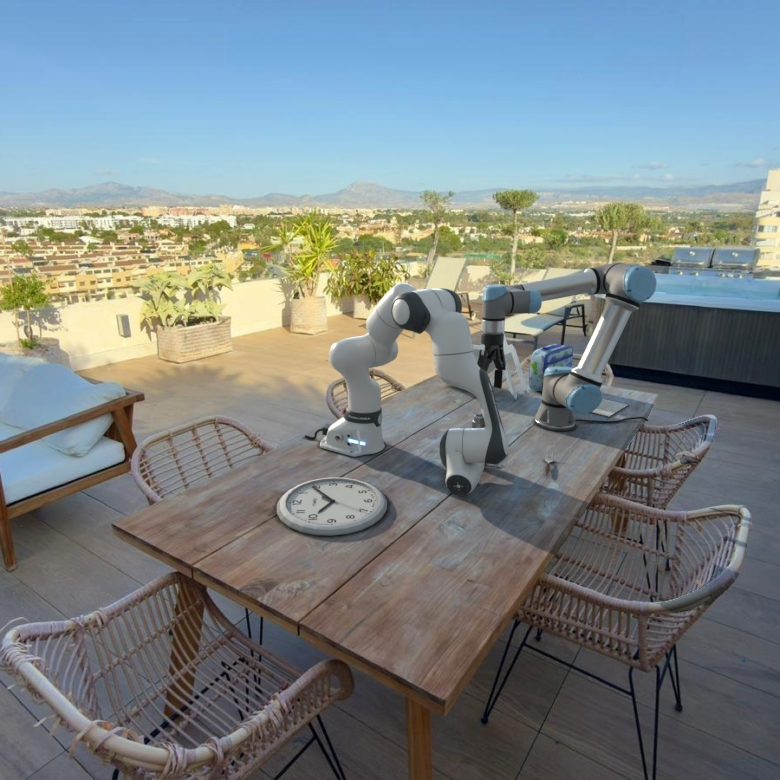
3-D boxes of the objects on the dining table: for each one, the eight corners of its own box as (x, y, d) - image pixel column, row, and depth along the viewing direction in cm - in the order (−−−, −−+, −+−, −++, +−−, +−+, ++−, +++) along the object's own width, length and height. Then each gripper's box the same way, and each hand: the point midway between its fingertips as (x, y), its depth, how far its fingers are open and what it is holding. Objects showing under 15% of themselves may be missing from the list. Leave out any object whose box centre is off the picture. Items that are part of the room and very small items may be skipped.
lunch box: (545, 396, 239) (550, 351, 232) (524, 391, 246) (528, 347, 240) (572, 385, 256) (577, 343, 250) (552, 380, 263) (557, 339, 257)
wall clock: (392, 527, 129) (268, 531, 127) (391, 533, 130) (269, 537, 127) (383, 473, 158) (282, 475, 155) (383, 478, 158) (282, 480, 156)
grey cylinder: (479, 460, 172) (482, 412, 167) (486, 466, 168) (490, 417, 163) (466, 462, 170) (469, 414, 165) (474, 468, 166) (477, 419, 161)
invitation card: (608, 416, 214) (573, 407, 224) (608, 416, 214) (573, 408, 224) (628, 404, 229) (594, 396, 238) (628, 405, 229) (594, 397, 238)
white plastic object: (461, 429, 252) (437, 405, 227) (444, 352, 274) (420, 323, 250) (535, 404, 240) (518, 377, 215) (510, 326, 262) (492, 293, 237)
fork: (541, 476, 161) (542, 470, 161) (545, 456, 176) (546, 450, 175) (550, 477, 161) (551, 471, 160) (553, 457, 175) (554, 451, 174)
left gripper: (506, 458, 151) (512, 441, 164) (437, 447, 158) (448, 431, 170) (504, 478, 153) (510, 459, 165) (436, 466, 159) (447, 449, 172)
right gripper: (498, 325, 186) (494, 382, 193) (464, 337, 167) (462, 400, 174) (517, 327, 182) (514, 385, 189) (486, 340, 163) (483, 404, 169)
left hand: (478, 445), depth 168 cm, fingers open, 7 cm apart
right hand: (489, 392), depth 181 cm, fingers open, 13 cm apart
